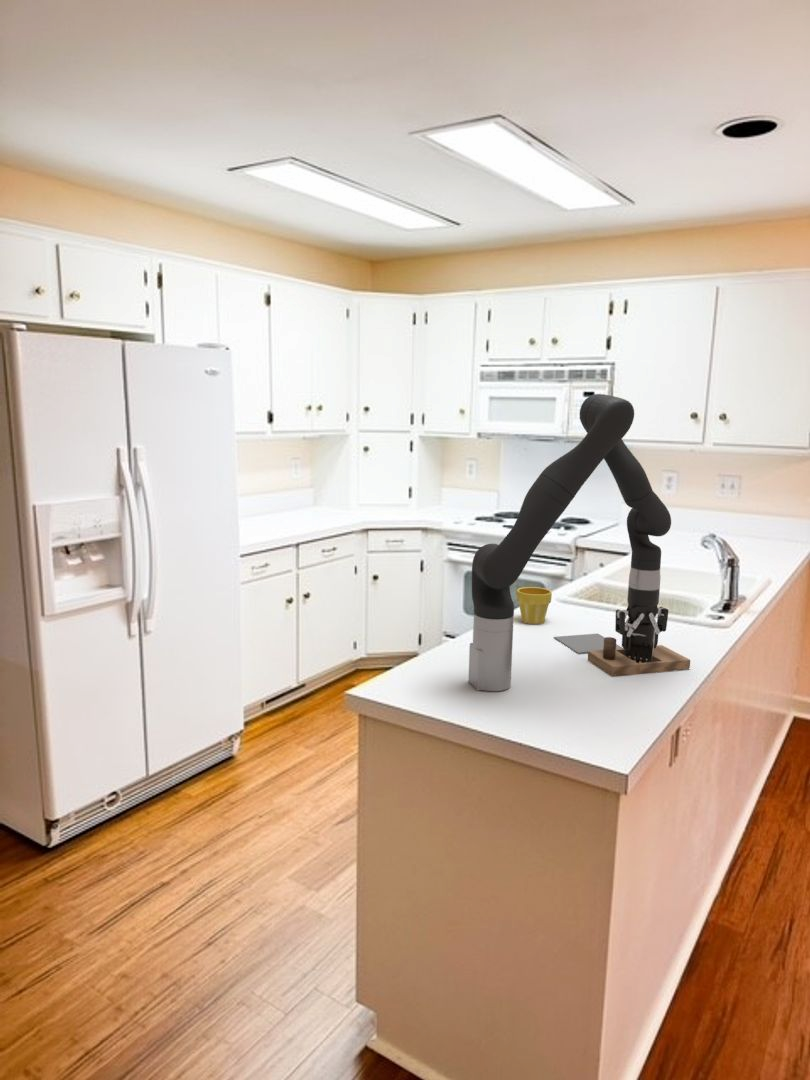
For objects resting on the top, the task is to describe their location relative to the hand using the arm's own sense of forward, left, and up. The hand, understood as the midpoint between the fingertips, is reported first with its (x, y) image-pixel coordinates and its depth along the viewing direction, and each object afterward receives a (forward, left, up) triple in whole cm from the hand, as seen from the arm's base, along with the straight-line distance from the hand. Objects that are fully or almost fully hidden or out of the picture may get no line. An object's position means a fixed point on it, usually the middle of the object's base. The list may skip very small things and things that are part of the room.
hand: (639, 648), depth 187 cm
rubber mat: (-4, +18, -4) cm, 19 cm away
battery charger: (0, 0, -5) cm, 5 cm away
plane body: (0, 0, -4) cm, 4 cm away
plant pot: (-10, +42, -5) cm, 43 cm away
